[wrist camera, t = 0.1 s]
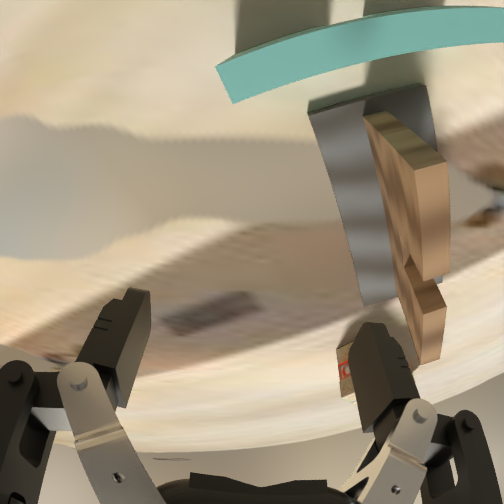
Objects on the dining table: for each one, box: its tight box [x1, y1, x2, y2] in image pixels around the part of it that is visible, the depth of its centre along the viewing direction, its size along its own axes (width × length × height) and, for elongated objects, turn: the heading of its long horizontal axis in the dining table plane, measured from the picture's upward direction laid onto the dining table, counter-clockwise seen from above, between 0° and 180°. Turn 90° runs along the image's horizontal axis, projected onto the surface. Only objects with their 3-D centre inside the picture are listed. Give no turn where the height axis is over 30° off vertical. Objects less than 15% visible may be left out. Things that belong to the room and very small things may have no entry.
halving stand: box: [307, 83, 451, 365], centre depth 28 cm, size 27×12×13 cm, turn 23°
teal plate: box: [215, 6, 504, 104], centre depth 18 cm, size 20×2×12 cm, turn 112°
